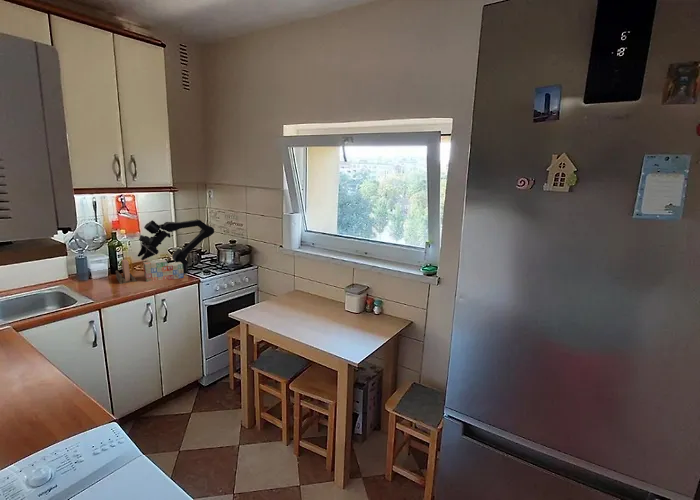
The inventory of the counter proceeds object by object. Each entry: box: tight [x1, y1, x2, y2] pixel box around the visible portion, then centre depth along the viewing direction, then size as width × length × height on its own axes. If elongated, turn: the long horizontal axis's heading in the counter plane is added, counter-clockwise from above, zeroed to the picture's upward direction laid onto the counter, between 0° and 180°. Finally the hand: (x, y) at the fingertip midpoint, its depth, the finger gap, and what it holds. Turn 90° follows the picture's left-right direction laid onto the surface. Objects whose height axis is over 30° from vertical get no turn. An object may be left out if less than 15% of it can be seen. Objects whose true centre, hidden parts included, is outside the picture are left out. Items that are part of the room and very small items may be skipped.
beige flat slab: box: [121, 259, 131, 281], centre depth 225 cm, size 2×6×12 cm, turn 41°
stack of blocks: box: [142, 258, 185, 283], centre depth 233 cm, size 21×6×12 cm, turn 128°
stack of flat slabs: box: [115, 270, 138, 285], centre depth 226 cm, size 9×12×6 cm
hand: (139, 258), depth 229 cm, fingers open, 9 cm apart
